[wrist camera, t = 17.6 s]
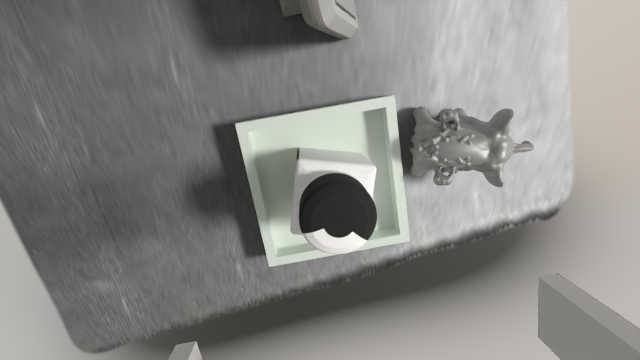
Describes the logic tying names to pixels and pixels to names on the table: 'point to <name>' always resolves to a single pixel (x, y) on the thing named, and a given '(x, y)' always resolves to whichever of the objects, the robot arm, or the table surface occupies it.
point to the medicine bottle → (333, 199)
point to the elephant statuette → (462, 145)
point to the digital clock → (325, 15)
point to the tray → (330, 134)
